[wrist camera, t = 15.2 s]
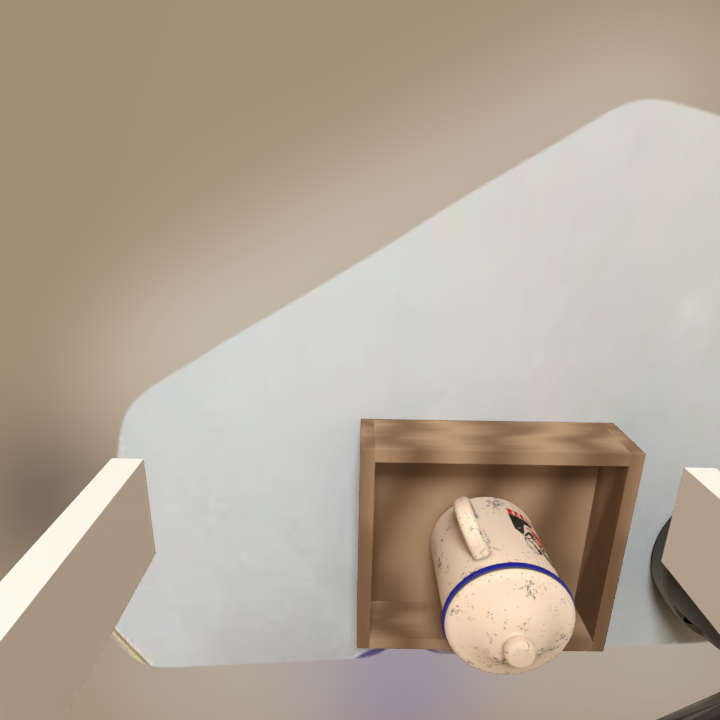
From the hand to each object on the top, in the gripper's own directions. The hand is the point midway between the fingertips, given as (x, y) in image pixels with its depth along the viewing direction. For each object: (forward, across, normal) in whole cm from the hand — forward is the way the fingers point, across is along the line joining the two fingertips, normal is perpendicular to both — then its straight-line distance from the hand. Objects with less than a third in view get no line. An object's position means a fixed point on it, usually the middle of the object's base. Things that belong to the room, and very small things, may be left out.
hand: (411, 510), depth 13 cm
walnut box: (+27, -9, +19) cm, 34 cm away
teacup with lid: (+26, -9, +19) cm, 33 cm away
